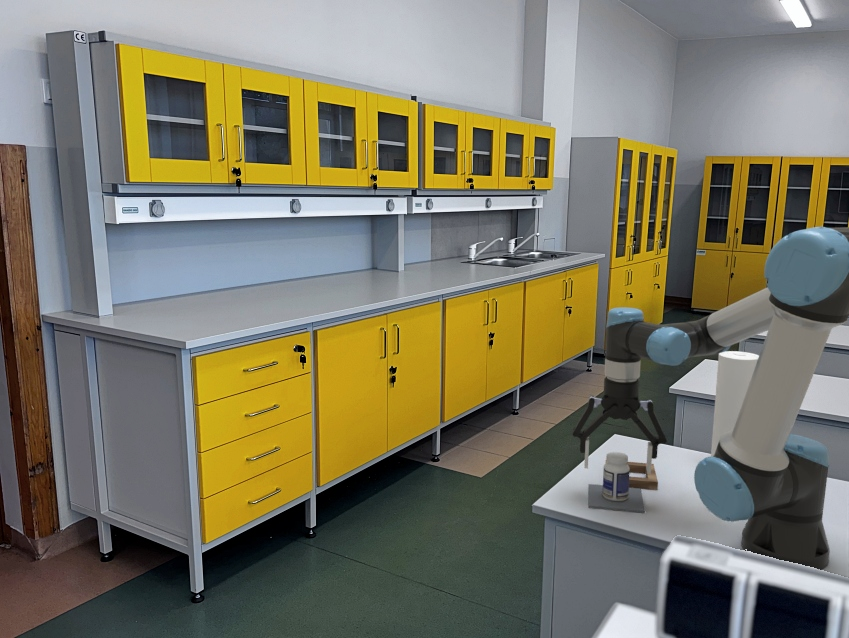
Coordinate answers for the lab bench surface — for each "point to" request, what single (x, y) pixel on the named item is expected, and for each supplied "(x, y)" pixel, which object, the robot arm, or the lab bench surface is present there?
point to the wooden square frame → (640, 482)
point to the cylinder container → (730, 390)
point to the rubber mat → (600, 502)
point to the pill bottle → (616, 477)
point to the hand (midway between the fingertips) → (617, 469)
